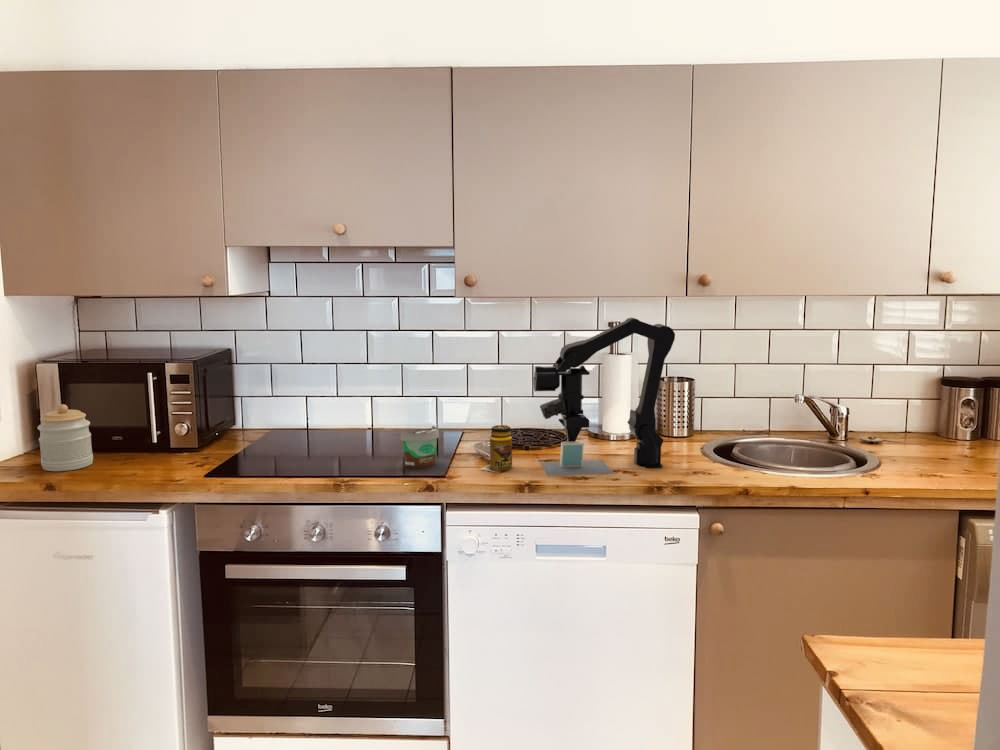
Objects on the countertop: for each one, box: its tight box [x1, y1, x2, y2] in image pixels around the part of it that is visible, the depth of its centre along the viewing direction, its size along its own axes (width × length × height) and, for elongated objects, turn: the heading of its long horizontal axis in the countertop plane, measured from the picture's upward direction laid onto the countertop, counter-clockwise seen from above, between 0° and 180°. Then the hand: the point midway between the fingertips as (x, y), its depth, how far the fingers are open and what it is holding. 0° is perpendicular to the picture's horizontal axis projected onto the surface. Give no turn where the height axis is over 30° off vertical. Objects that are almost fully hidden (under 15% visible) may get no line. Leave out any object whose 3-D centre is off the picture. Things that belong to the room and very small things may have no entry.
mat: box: [539, 459, 615, 477], centre depth 218 cm, size 18×14×1 cm
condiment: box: [479, 424, 513, 474], centre depth 218 cm, size 7×8×12 cm
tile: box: [559, 440, 585, 467], centre depth 218 cm, size 6×2×7 cm, turn 97°
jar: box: [37, 403, 94, 472], centre depth 222 cm, size 13×13×18 cm
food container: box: [400, 425, 440, 469], centre depth 222 cm, size 12×6×10 cm, turn 137°
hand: (570, 446), depth 219 cm, fingers closed
